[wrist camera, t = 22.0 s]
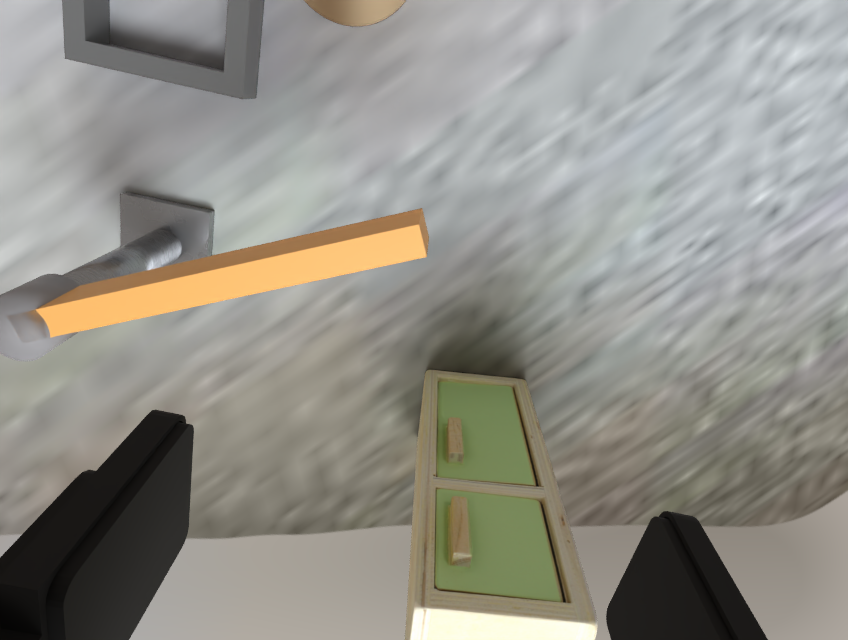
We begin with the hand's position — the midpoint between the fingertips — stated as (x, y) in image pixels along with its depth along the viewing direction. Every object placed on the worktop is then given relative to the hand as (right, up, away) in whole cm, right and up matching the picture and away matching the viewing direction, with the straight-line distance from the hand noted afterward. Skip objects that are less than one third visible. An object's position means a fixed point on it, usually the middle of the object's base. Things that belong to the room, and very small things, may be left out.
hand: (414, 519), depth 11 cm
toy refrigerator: (+4, -3, +32) cm, 32 cm away
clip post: (-18, +9, +27) cm, 34 cm away
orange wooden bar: (-10, +6, +16) cm, 19 cm away
